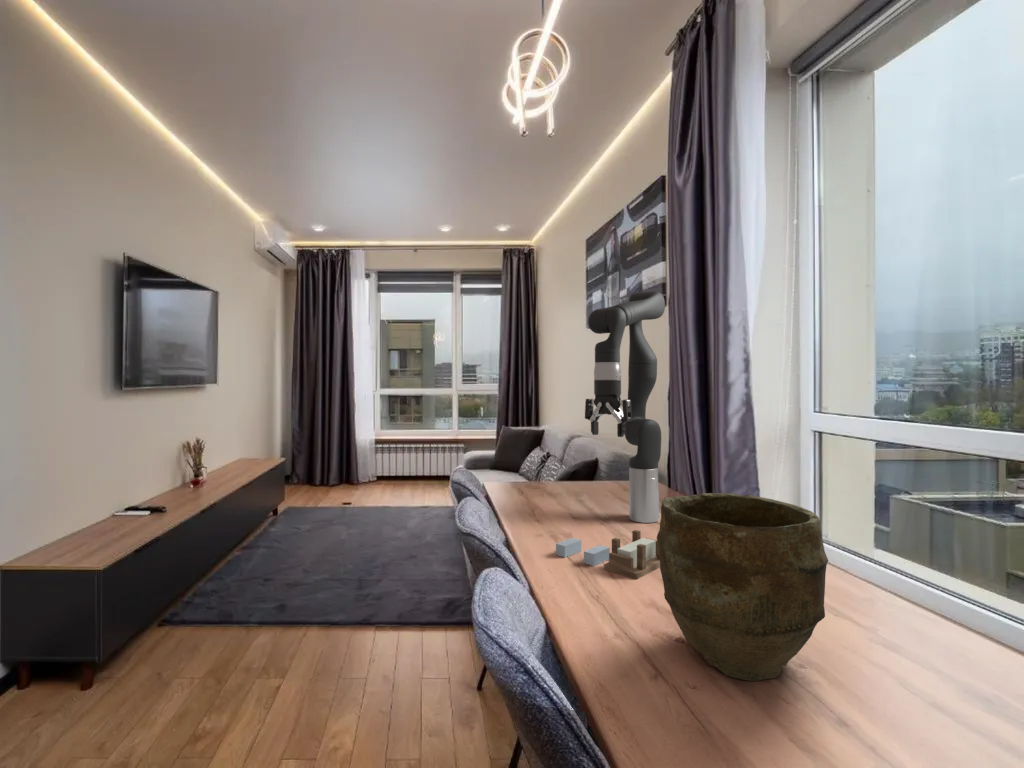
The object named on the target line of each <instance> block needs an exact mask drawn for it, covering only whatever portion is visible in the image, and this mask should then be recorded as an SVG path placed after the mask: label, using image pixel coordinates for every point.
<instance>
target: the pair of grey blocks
mask: <svg viewBox="0 0 1024 768" xmlns="http://www.w3.org/2000/svg"><path fill="white" fill-rule="evenodd" d="M610 549H611V548H610V547H609V546H606V545H602V544H599V545H597V546H594V547H592V548H589V549H586V550H584V551H583V564H584V563H586V564H585V565H588V564H589V565H588V566H591V565H592V566H591V567H595V565H596V566H598V565H600V564H602V563H604V561H605V562H607V561H609V553H611V550H610ZM580 551H581V552H582V539H579V538H575V537H571V538H568V539H565V540H563V541H560V542H557V543H556V542H555V555H556V556H557V555H559V556H558V557H561V556H562V557H561V558H564V557H566V558H568V557H571V556H573V555H576V554H578V553H581V552H580ZM577 552H578V553H577ZM575 553H576V554H575ZM572 554H573V555H572ZM570 555H571V556H570ZM567 556H568V557H567ZM606 560H607V561H606ZM601 562H602V563H601ZM599 563H600V564H599ZM597 564H598V565H597Z"/></svg>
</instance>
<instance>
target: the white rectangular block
mask: <svg viewBox="0 0 1024 768" xmlns="http://www.w3.org/2000/svg"><path fill="white" fill-rule="evenodd" d="M646 538H647V537H645V538H644V537H641V539H639V540H637V541H634V542H630V543H627V544H625V545H623V546H620V548H618V549H617V554H619V555H623V556H627V557H630V558H633V567H635V566H637V545H639V544H643V545H646V561H648V560H650V559H652V558H654V557H656V541H655V539H652V540H651V538H648V539H646Z"/></svg>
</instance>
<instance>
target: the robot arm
mask: <svg viewBox="0 0 1024 768" xmlns="http://www.w3.org/2000/svg"><path fill="white" fill-rule="evenodd" d="M665 309H666V302H665V298H664V295H663V294H662V293H661V292H659V291H655V290H651V291H642V292H640V291H639V292H633V293H632V294H631V295H630V296H629V299H628V301H626V302H625V301H624V302H622V303H618V304H615V305H613V306H609V307H608V306H607V307H603V308H596V309H593V311H591V313H590V314H589V316H588V319H587V325H588V327H589V329H590V331H592V332H593V333H595V334H598V335H601V334H602V335H603V334H609V335H608V337H607V339H605V340H603V341H600V342H597V343H596V344H595V347H594V369H593V386H594V387H593V393H594V394H593V395H594V396H595V397H594V398H586V399H585V405H584V407H585V408H584V419H585V420H588V421H590V432H591V434H592V435H593V436H598V435H599V434H600V433H599V431H600V430H599V419H600V418H601V416H604V415H610V416H611V415H612V417H613V418H615V419H616V421H617V427H616V428H617V432H616V434H617V437H618V438H623V437H625V440H626V441H627V443H628V444H629V445H632V446H635V447H636V448H637V449H636V454H635V455H634V456H631V457H630V459H628V460H629V461H628V463H629V464H628V465H629V467H628V468H629V473H628V475H629V477H628V480H629V483H628V484H629V489H628V490H629V496H628V497H629V520H631V521H632V522H637V523H643V524H644V523H647V524H650V523H657V522H658V521H659V519H660V490H659V463H660V459H661V456H662V455H661V454H662V453H661V451H662V429H661V427H660V424H659V423H658V422H657V421H656V420H654V419H651V418H649V419H648V418H646V409H647V403H648V400H649V398H650V396H651V393H652V391H653V389H654V387H655V384H656V381H657V375H658V358H657V356H656V353H655V352H654V350H653V349H652V347H651V345H650V343H649V341H647V339H646V336H645V334H644V331H643V322H642V321H648V320H649V321H650V320H657V319H659V318H661V317H662V316H663V315H664V312H665ZM626 327H628V328H629V329H628V330H629V331H628V332H629V345H628V346H629V347H628V348H629V349H628V350H629V351H628V353H629V354H628V369H627V370H628V378H627V379H628V385H627V399H623V400H622V399H621V395H622V369H621V363H620V362H621V353H620V352H621V346H622V342H623V341H622V340H623V336H624V333H625V329H626ZM594 407H595V408H594ZM621 407H622V409H621Z"/></svg>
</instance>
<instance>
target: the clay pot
mask: <svg viewBox="0 0 1024 768" xmlns="http://www.w3.org/2000/svg"><path fill="white" fill-rule="evenodd" d="M822 531H823V530H822V526H821V520H820V518H819V516H818V515H817V514H816V512H815V513H814V512H813V511H811V510H809V509H806V508H804V507H802V506H798V505H796V504H791V503H788V502H785V501H781V500H776V499H772V498H767V497H761V496H756V495H753V494H745V495H741V494H739V493H717V492H714V493H713V492H708V493H705V492H700V493H699V494H690V495H681V496H680V495H678V496H677V495H676V496H672V497H670V496H667V497H664V498H663V499H662V500H661V507H660V520H659V530H658V532H657V536H656V540H657V543H658V550H659V557H660V567H659V568H660V573H661V577H662V584H663V590H664V592H663V596H664V599H665V601H666V603H667V604H668V606H669V608H670V610H671V614H672V615H673V618H674V620H675V622H676V624H677V626H678V627H679V629H680V631H681V633H682V635H683V636H684V638H685V640H686V641H687V643H688V644H689V645H690V646H692V647H693V649H694V650H695V651H696V652H697V653H698V654H699V655H700V656H702V657H703V659H704V661H705V662H707V664H708V665H709V667H711V666H712V667H715V668H717V669H718V670H719V671H720V672H721V673H723V674H724V675H725V677H730V678H734V679H738V680H744V681H752V682H753V681H755V682H759V681H762V680H768V679H775V678H779V676H780V674H781V673H782V670H783V668H784V667H787V665H788V663H789V661H791V660H792V659H793V658H794V657H795V656H796V655H798V653H799V652H800V651H801V650H802V648H803V647H804V646H805V645H806V644H807V642H808V641H809V639H811V637H812V635H813V632H814V630H815V628H816V626H817V624H819V622H820V621H822V620H823V619H824V618H825V617H826V610H825V597H826V596H825V595H826V591H825V590H826V575H827V574H826V573H827V572H826V571H827V565H828V562H829V559H828V556H827V554H826V551H825V546H824V541H823V533H822Z"/></svg>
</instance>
